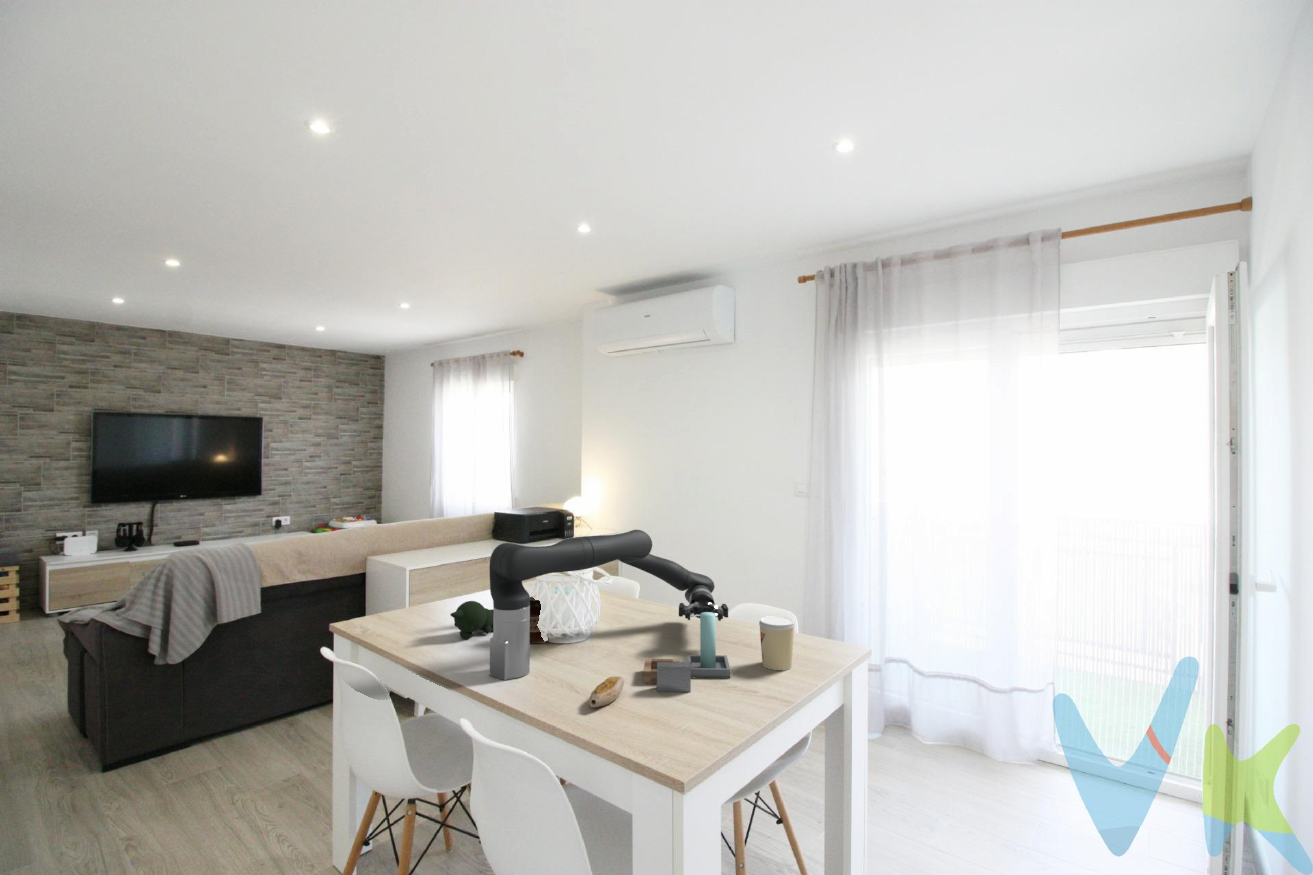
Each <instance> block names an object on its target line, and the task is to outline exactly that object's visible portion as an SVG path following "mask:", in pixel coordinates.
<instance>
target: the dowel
mask: <svg viewBox="0 0 1313 875" xmlns="http://www.w3.org/2000/svg"><path fill="white" fill-rule="evenodd" d="M699 619H700V621H699V622H700V624H699V626H700V627H699V629H700V630H699V634H700V635H699V636H700V637H699V639H700V641H699V642H700V644H699V645H700V646H699V648H700V652H699V655H700V668H716V655H717V654H716V653H717V652H716V650H717V649H716V648H717V647H716V645H717V642H716V641H717V640H716V639H717V638H716V634H717V633H716V631H717V630H716V628H717V627H716V626H717V625H716V624H717V622H716V621H717V620H716V619H717V617H716V614H715V613H712V612H703V613H701V614H700V618H699Z"/></svg>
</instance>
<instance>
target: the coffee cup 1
mask: <svg viewBox="0 0 1313 875" xmlns="http://www.w3.org/2000/svg"><path fill="white" fill-rule="evenodd" d="M533 597H534V596H530V644H543V643H545V642H544V640H543V638H542V637H541V632H540V630H539V628H538V626H537V624H538V621H539V615H540V610H541V604H540V601H539V600H535V599H534V598H533Z"/></svg>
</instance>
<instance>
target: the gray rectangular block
mask: <svg viewBox="0 0 1313 875" xmlns="http://www.w3.org/2000/svg"><path fill="white" fill-rule="evenodd" d="M691 679H692V678H691V666H690V662H687V661H686V662H684V661H680V662H657V684H656V692H657V693H691V691H692V690H691V688H692V686H691V682H692V681H691Z"/></svg>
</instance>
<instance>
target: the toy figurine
mask: <svg viewBox="0 0 1313 875" xmlns="http://www.w3.org/2000/svg"><path fill="white" fill-rule="evenodd" d="M450 617H452V618H453V621H454V627H456V629H458V630H460V632H459V637H460V638H462V639H464V640H470V639H472V637H473V635H474V634H473V633H475V632H479V631H480V632H481V631H482V632H483V634H486V635H488V634H490V633H491V632H492V630H493V609H489V608H487V607H486V608H485V607H484V605H483V604H481V603H480V602H478V601H474V600H469V601H468V600H467V601H465V602H462V603H461V604H460V605H459V606H458V607H457V608H456V610H455V611H454V612H451V613H450Z"/></svg>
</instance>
